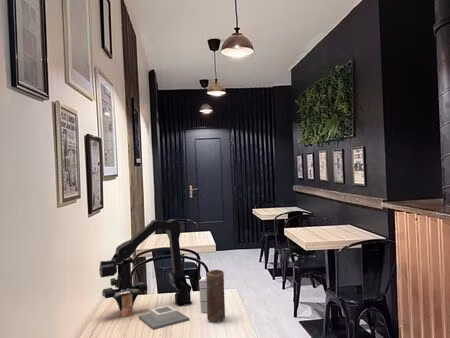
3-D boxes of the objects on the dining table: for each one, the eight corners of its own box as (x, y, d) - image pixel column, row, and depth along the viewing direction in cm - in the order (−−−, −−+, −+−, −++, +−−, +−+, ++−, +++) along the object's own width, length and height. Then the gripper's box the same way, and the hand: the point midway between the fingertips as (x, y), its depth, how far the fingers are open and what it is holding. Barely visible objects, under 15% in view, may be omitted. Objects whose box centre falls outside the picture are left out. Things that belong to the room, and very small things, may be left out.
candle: (228, 317, 172) (225, 269, 172) (222, 324, 165) (219, 274, 165) (211, 316, 175) (208, 269, 175) (204, 322, 168) (202, 273, 168)
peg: (129, 312, 185) (128, 292, 185) (132, 315, 181) (132, 294, 181) (119, 314, 182) (118, 294, 182) (122, 317, 178) (121, 296, 178)
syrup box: (213, 313, 178) (212, 279, 178) (200, 313, 179) (198, 279, 180) (216, 308, 184) (215, 276, 184) (203, 308, 185) (202, 276, 185)
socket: (173, 310, 185) (172, 301, 185) (189, 320, 171) (188, 310, 171) (139, 318, 176) (138, 309, 176) (153, 329, 163) (152, 319, 163)
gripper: (138, 267, 193) (139, 300, 193) (98, 274, 183) (99, 309, 183) (147, 271, 184) (148, 306, 184) (105, 279, 174) (106, 315, 174)
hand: (126, 309), depth 181 cm, fingers closed on peg, 4 cm apart
